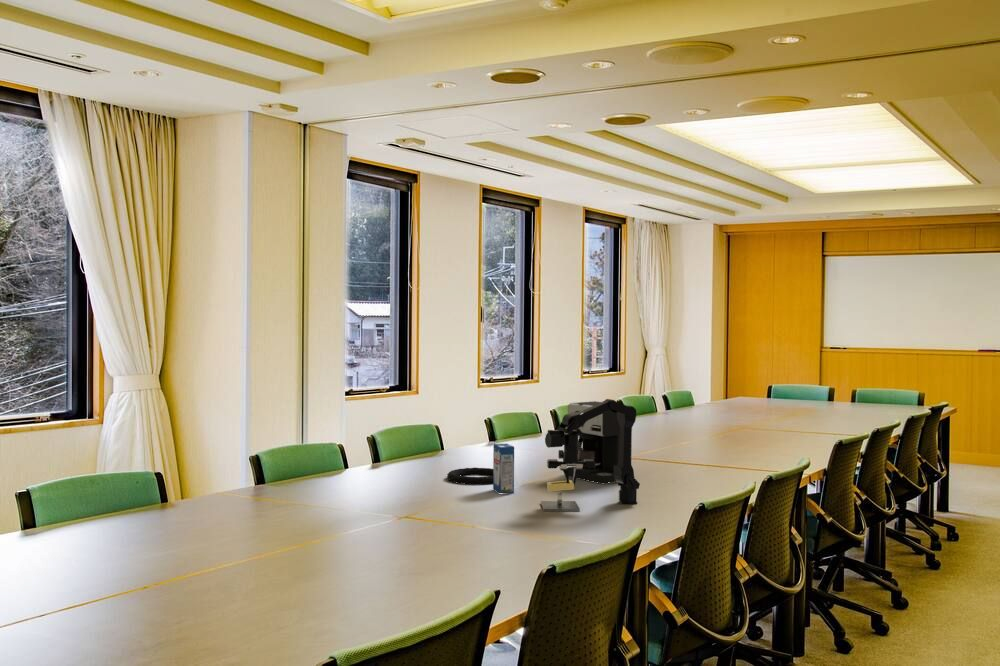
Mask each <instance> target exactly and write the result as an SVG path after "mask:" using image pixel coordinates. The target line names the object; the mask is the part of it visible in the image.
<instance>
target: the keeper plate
mask: <svg viewBox="0 0 1000 666" xmlns="http://www.w3.org/2000/svg"><path fill="white" fill-rule="evenodd" d="M556 492H557V497H556V498H557V499H556V500H540V505H542V506H541V507H543V508H542V510H544V511H543V512H581V511H580V509H581V508H580V507H579V505H578V504H577V501H576V500H564V501H563V491H556Z"/></svg>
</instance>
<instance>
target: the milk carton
mask: <svg viewBox="0 0 1000 666" xmlns="http://www.w3.org/2000/svg"><path fill="white" fill-rule="evenodd" d="M492 452H493V454H492V457H493V459H492V460H493V461H492V462H493V463H492V464H493V465H492V466H493V468H492V469H493V484H492V490H493V489H494V490H496V491H497V492H499V493H513V494H515V446H513V445H512V444H509V443H493V451H492ZM494 490H493V491H494ZM496 491H495V492H496ZM497 492H496V493H497ZM499 493H498V494H499Z"/></svg>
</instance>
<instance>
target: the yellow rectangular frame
mask: <svg viewBox="0 0 1000 666" xmlns="http://www.w3.org/2000/svg"><path fill="white" fill-rule="evenodd" d="M546 486H547V487H546V488H547V492H562V491H568V490H569V491H570V490H575V484H574V483H573V479H569V483H567V481H566V480H559V481H547V482H546Z"/></svg>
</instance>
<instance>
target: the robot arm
mask: <svg viewBox="0 0 1000 666" xmlns="http://www.w3.org/2000/svg"><path fill="white" fill-rule="evenodd" d="M600 402H601V403H598V404H596V405H594V406H592V407H590V408H587V409H585V410H583V411H580V412H574V413H569V414H568V413H566V414H564V415H563V417H562V420H561V422H560V424H559V425H558V427H557V429H553V430H552V429H547V432H546V434H545V438H544V444H545V445H546V448H549V449H550V448H561V447H563V449H561V450H560V449H559V450H558V459H562V460H563V461H562V460H561V461H558V459H555V458H554V459H553V458H552V459H551V458H550V459H549V458H548V459H547V460H546V467H547V468H548V469H557V468H558V467H559V470H560V471H561V472H563V474H564V476H565V479H566V480H565V481H567V483H569V480H570V477H569V474H568V467H574V466H575V467H574V474H573V477H572V481H573V483H574V485H576V483H577V482H576V481H577V480H578V479H577V476H578V475H579V473H580V471H582V470H583V469H582V467H583V466H586V467H587V468H595V461H594V460H593V459H584V461H578V441H579V437H578V435H583V434H584V433H583V432H582V431H581V430H580V429H578V428H580V427H581V426H583V425H584V424H585V423H586V422H587V421H588V420H590V419H592V418H594V417H596V416H599V415H601V414H603V413H605V412H607V411H609V410H611V411H612V412H614V413H616V414H617V420H618V423H619V425H620V443H619V462H618V464H617V466H614V467H613V469H614V472H613V476H614V479H615V480H616V481H617V482H616V483H617V485H618V487H619V490H618V501H619V502H620V504H624V505H629V504H631V505H637V504H638V501H637V494H638V493H637V491H638V490H639V489H640V485H641V484H640V482H639V481H638V480H637V479H636V478H635V471H634V468H633V465H632V452H631V440H632V439H633V435H632V434H633V433H632V431H633V427H634V424H635V423H636V420H637V415H638V414H637V413H638V411H637V408H635V407H634V406H632V405H628V404H622V403H620V402H617V401H616V400H615V399H611V398H606V399H604V400H603V401H600Z"/></svg>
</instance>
